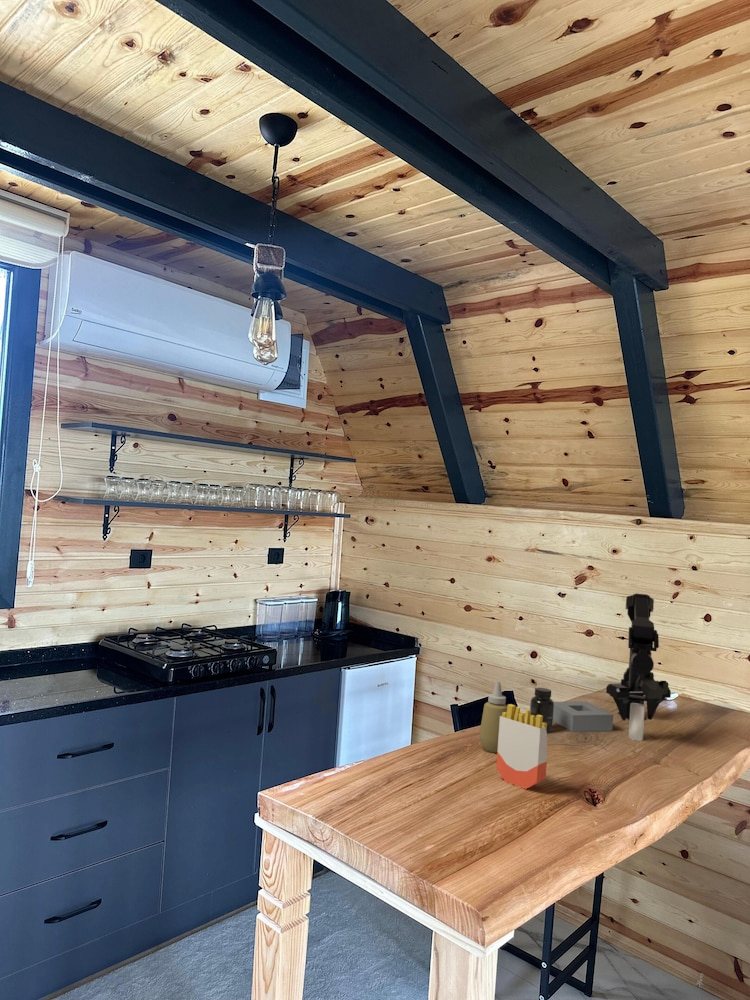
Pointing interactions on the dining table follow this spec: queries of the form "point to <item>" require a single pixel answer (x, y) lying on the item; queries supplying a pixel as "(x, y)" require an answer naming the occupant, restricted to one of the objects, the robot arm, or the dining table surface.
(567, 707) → the socket block
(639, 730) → the peg
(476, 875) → the dining table surface
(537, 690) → the supplement bottle
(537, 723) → the french fries container
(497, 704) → the squeeze bottle
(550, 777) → the dining table surface
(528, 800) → the dining table surface
